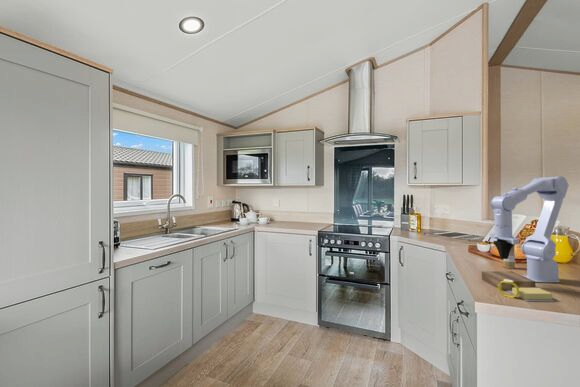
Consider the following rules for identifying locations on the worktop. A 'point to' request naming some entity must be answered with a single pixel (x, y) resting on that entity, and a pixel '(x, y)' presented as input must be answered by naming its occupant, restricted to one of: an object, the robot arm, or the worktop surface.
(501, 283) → the watch
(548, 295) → the yellow butter block
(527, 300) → the mat
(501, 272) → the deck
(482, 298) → the worktop surface
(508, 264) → the sprinkles bottle
